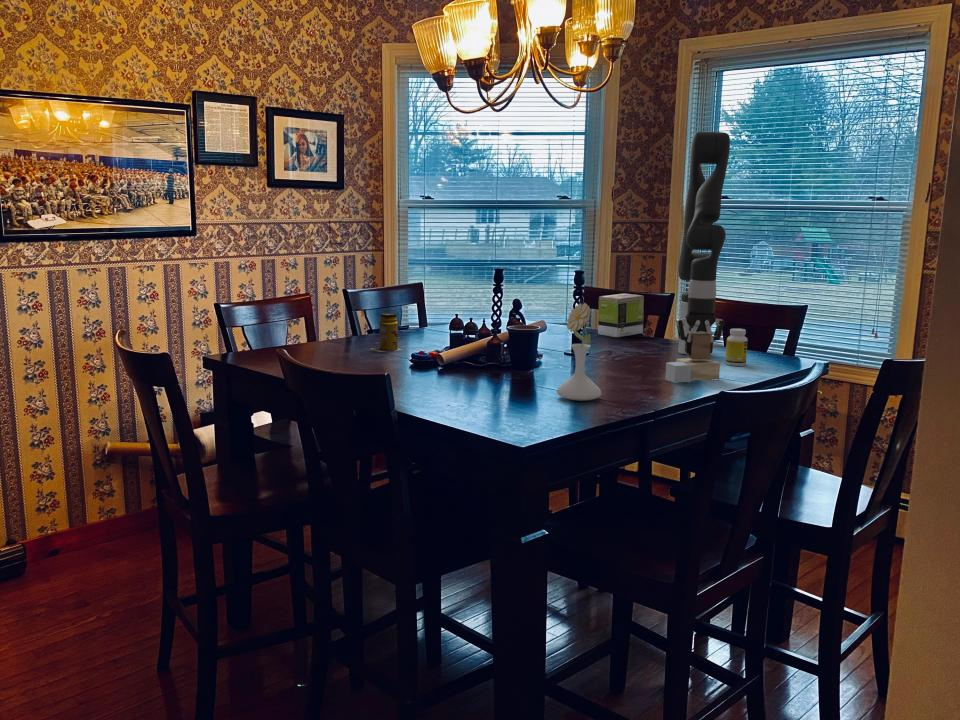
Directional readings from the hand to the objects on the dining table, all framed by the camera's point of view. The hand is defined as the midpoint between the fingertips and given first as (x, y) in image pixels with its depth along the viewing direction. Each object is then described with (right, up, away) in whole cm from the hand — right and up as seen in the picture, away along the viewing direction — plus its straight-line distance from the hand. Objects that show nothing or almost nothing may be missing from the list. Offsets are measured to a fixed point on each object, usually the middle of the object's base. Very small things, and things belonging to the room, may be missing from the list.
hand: (698, 354), depth 241 cm
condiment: (-94, +2, +38) cm, 101 cm away
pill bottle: (+17, -3, +21) cm, 27 cm away
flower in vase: (-37, -12, -27) cm, 48 cm away
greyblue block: (-7, -8, -4) cm, 11 cm away
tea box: (-10, +8, +76) cm, 78 cm away
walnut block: (0, -1, 0) cm, 1 cm away
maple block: (0, -7, +1) cm, 7 cm away
